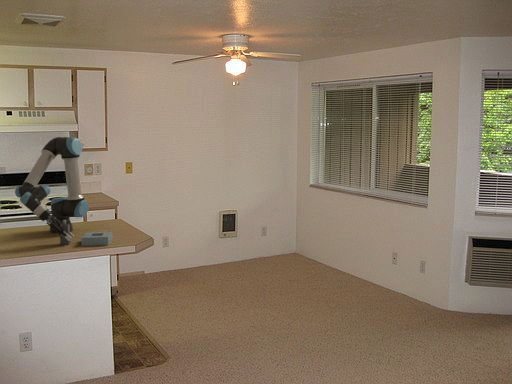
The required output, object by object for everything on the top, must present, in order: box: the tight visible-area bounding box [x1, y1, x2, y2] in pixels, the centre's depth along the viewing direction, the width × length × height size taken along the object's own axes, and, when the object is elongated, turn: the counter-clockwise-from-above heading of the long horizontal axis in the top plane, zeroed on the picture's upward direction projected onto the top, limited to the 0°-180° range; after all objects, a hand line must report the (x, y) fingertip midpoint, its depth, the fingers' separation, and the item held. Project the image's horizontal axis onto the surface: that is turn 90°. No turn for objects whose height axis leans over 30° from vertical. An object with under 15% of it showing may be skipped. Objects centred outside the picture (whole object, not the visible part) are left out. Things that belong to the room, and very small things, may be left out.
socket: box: [80, 231, 114, 247], centre depth 362 cm, size 16×16×5 cm
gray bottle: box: [59, 220, 72, 246], centre depth 358 cm, size 5×5×15 cm
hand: (71, 238), depth 359 cm, fingers closed on gray bottle, 5 cm apart
